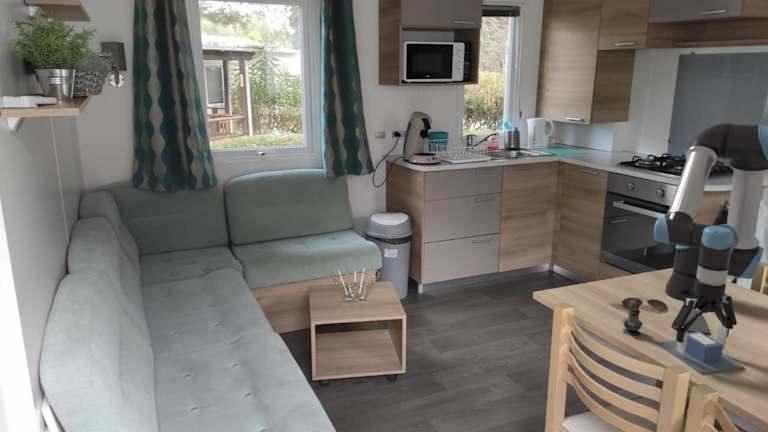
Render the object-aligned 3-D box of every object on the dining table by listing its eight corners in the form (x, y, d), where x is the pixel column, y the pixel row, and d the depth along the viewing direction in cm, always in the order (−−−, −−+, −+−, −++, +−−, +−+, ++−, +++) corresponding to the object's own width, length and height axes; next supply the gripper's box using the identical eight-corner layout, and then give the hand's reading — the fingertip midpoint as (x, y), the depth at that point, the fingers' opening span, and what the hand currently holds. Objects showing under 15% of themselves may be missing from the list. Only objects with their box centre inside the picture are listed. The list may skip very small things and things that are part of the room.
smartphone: (703, 315, 198) (710, 333, 184) (702, 317, 198) (709, 336, 184) (680, 312, 200) (685, 330, 186) (680, 314, 200) (685, 332, 187)
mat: (698, 339, 181) (698, 337, 181) (744, 368, 164) (744, 366, 164) (658, 344, 178) (658, 342, 178) (701, 374, 161) (701, 372, 161)
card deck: (720, 360, 168) (723, 344, 166) (703, 363, 166) (705, 347, 165) (696, 346, 176) (699, 330, 175) (680, 348, 174) (682, 333, 173)
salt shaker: (631, 338, 183) (635, 302, 179) (617, 330, 188) (621, 295, 185) (645, 334, 185) (650, 299, 182) (631, 327, 190) (635, 292, 187)
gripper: (737, 273, 171) (726, 339, 177) (663, 279, 166) (654, 347, 172) (758, 282, 164) (746, 351, 170) (681, 289, 159) (672, 360, 165)
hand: (700, 349), depth 171 cm, fingers open, 13 cm apart
